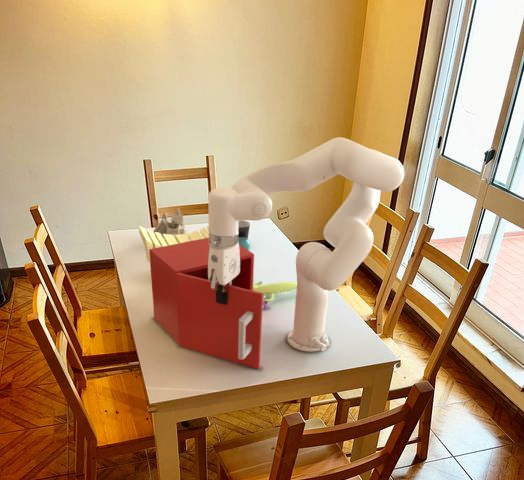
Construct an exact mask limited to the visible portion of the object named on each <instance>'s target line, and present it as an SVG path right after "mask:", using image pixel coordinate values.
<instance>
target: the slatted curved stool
mask: <svg viewBox="0 0 524 480" xmlns="http://www.w3.org/2000/svg"><path fill="white" fill-rule="evenodd" d="M138 231H139V236H140V238H141V240H142V242H143V246H144V251H145V258H146V260H147V262H148V263H150V253H149V249H153V248H158V247H163V246H169V245H174V244H178V243H184V242H189V241H194V240H199V239H204V238H209V224H208V225H206V227H202V228H200V229H199V231H198V230H194V231H191V232H188V233H186V234H179V235H175V237H176V239H177V240H176V239H175V237H174V236H173V235H170V234H163V237H162V235H161V234H160V233H158V232H155V233H154V230H150V229H145V227H142V226H140V225H139V226H138ZM177 241H178V242H177Z"/></svg>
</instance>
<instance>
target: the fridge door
mask: <svg viewBox="0 0 524 480" xmlns="http://www.w3.org/2000/svg"><path fill="white" fill-rule="evenodd" d="M176 279H177V300H178V322H179V343H180V344H179V343H178V344H179V347H181V348H186V349H189V350H192V351H196V352H199V353H202V354H206V355H209V356H212V357H215V358H220V359H223V360H227V361H230V362H233V363H236V364H239V365H243V366H247V367H250V368H254V369H257V370H259V369H260V366H261V365H260V364H261V346H262V345H261V343H262V324H263V309H262V305H263V300H264V298H263V293H260V292H256V291H252V290H247V289H243V288H239V287H235V286H231V285H227V284H226V291H227V304H226V305H223V304H220V303H217V302H216V290H214V289H211V283H212V282H209V280H206V279H202V278H198V277H194V276H190V275H186V274H182V273H177V274H176ZM219 285H222V284H219Z"/></svg>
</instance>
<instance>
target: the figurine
mask: <svg viewBox="0 0 524 480" xmlns="http://www.w3.org/2000/svg"><path fill="white" fill-rule="evenodd" d="M262 284H263V281H259V282H257V283H253V291H256V292H260V293H263V305H262V310H263V309H265V310H267V309H268V307H269V305H268V303H269V302H273V301H274V300H275V294H278V295H280V296H284V294H281V293H285V292H289V291H293V290H297V281H279V282H274V283H273V282H271V283H267V284H263V285H262ZM266 297H267V298H266Z"/></svg>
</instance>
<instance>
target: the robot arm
mask: <svg viewBox="0 0 524 480" xmlns="http://www.w3.org/2000/svg"><path fill="white" fill-rule="evenodd" d="M338 175H339V176H342V177H343V178H345V179H347V180H350V181H351V182H352V188H351V191H350V193H349V195H347V197H346V199H345V200H344V201H343V203H342V204H341V205H340V206H339V208H338V209H337V210H336V211H335V213H334V214H333V215H332V216H331V218H330V219H329V220H328V221H327V223H326V224H325V226H324V228H323V231H322V232H323V238H324V239H325V240H326V242H327V243H329V244H330V245H331V246H332V247H333V248H334V249H333V251H332V250H331V249H330V248H328V247H326V246H325V245H324V244H322V243H320V242H317V241H309V242H307V243H305V244H303V245H302V246H301V247H300V248H299V250H298V251H297V253H296V256H295V270H296V271H295V273H296V282H297V288H296V289H295V290H296V293H295V302H294V313H293V324H292V325H293V326H292V330H290V331H289V332H288V334H287V337H286V338H287V339H286V340H287V343H288V344H289V345H290V346H291V347H292V348H294V349H296V350H299V351H301V352H306V353H307V352H309V353H310V352H311V353H312V352H319V351H322V352H325V351H326V350H327V348H328V347H329V346H330V344H331V342H330V341H329V337H328V336H327V332H325V328H326V327H325V326H326V320H327V313H328V312H327V311H328V304H329V303H328V302H329V296H330V291H335V290H336V289H338V288H340V287H341V286H342V285H344V284H345V283H346V281H347V280H348V279H349V278H350V277H351V276H352V275H353V273H355V271H356V270H357V269H358V268H359V266H360V265H361V264H362V263H363V261H364V260H365V259H366V258H367V256H368V255H369V254H370V252H371V250H372V247H373V245H374V234H373V232H372V230H371V228H370V227H368V226H367V223H368V222H369V220H370V219H371V218H372V216H373V215H374V214H375V212H376V210H377V209H378V207H379V203H380V199H381V198H380V197H381V193H382V192H383V193H389V192H393V191H395V190H396V189H397V188H398V187H400V185H401V184H402V183H403V181H404V177H405V169H404V165H403V164H402V163H401V162H400V160H398V159H397V158H394V157H392V156H390V155H387V154H385V153H383V152H381V151H379V150H376V149H372V148H369V147H366V146H364V145H362V144H360V143H358V142H355V141H354V140H351V139H348V138H346V137H342V136H341V137H340V136H338V137H333V138H332V139H329V140H328V141H326V142H324V143H321V144H320V145H319V146H316V147H315V148H313V149H311V150H309V151H307V152H306V153H303V154H301V155H299V156H298V157H296V158H294V159H291V160H287V161H282V162H279V163H275V164H271V165H267V166H264V167H260V168H257V169H256V170H254V171H251V172H250V173H248V174H246V175H244V176H243V177H241V178H239V179H237V181H236V182H234V184H233V185H232V186H231V188H230V187H216V188H213V189H211V190H210V191H209V193H208V201H207V202H208V203H207V205H208V225H209V245H210V249H209V258H208V279H209V282H212V283H211V289H214V290H216V302H217V303H220V304H223V305H226V304H227V291H226V284H227V285H232V279H234V278H235V277H236V276H237V275H238V274H239V273H240V251H239V243H238V221H239V220H244V221H253V222H256V221H261V220H264V219H266V218H267V217H268V216H270V214H271V212H272V210H273V202H272V199H271V197H270V196H269V195H270V194H274V193H279V192H294V193H295V192H297V193H301V192H308V191H310V190H312V189H314V188H316V187H318V186H319V185H321V184H323V183H325V182H327V181H329V180H330V179H333V178H334V177H336V176H338ZM219 284H222V285H219Z"/></svg>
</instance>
